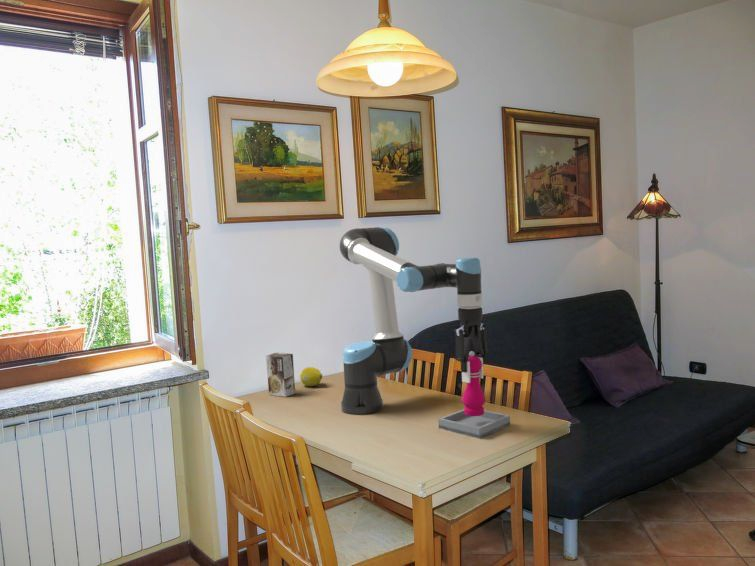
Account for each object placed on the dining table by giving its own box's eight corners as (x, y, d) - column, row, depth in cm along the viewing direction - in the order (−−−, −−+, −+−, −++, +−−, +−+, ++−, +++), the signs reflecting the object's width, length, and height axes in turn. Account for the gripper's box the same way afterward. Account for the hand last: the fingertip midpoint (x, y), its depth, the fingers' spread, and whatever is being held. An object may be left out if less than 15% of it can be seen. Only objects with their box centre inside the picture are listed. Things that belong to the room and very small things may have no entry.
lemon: (296, 386, 261) (295, 367, 260) (311, 382, 266) (310, 364, 265) (311, 390, 253) (310, 371, 252) (327, 386, 258) (325, 367, 257)
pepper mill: (485, 417, 193) (483, 353, 191) (462, 416, 194) (459, 353, 192) (486, 410, 200) (483, 348, 198) (463, 410, 201) (461, 349, 199)
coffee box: (296, 393, 249) (293, 353, 248) (285, 397, 244) (282, 356, 242) (278, 391, 254) (276, 352, 253) (268, 395, 249) (265, 355, 247)
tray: (438, 427, 198) (438, 418, 197) (469, 415, 209) (469, 406, 208) (479, 438, 186) (479, 428, 186) (510, 424, 197) (509, 415, 197)
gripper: (460, 311, 185) (463, 388, 187) (497, 304, 198) (500, 375, 200) (441, 310, 190) (444, 384, 192) (478, 302, 203) (481, 372, 205)
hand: (472, 379), depth 196 cm, fingers closed on pepper mill, 6 cm apart
